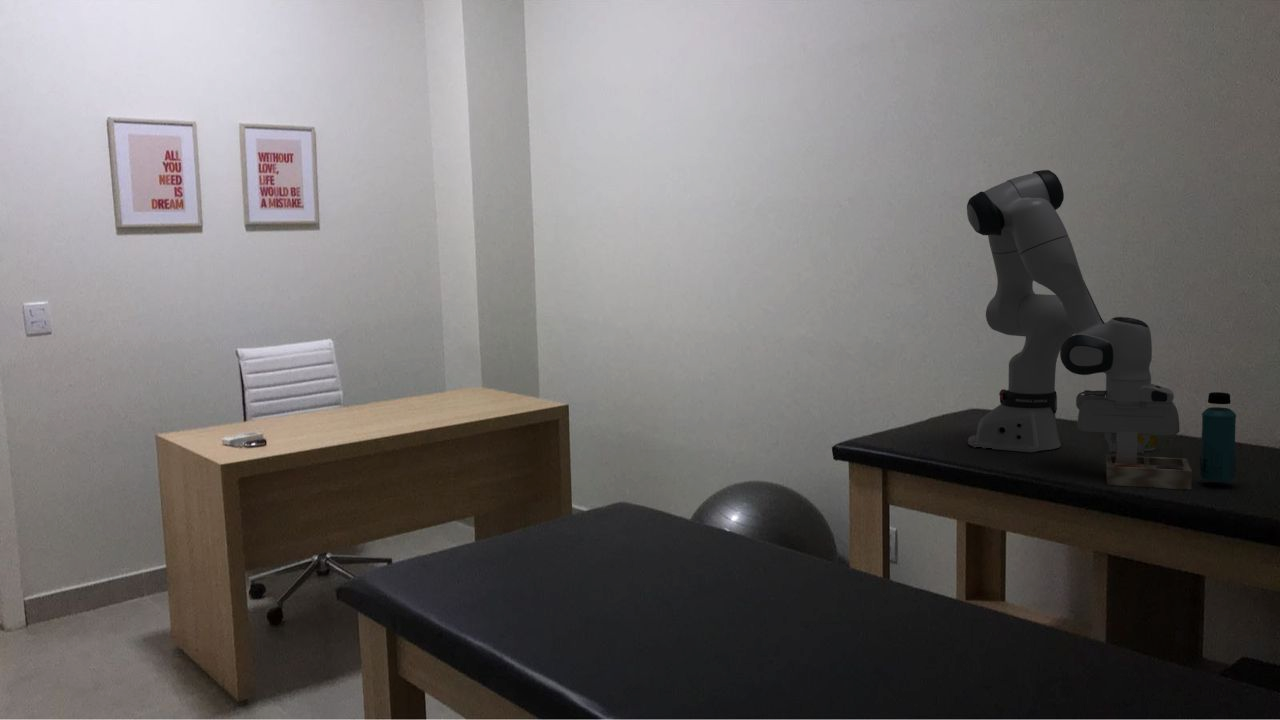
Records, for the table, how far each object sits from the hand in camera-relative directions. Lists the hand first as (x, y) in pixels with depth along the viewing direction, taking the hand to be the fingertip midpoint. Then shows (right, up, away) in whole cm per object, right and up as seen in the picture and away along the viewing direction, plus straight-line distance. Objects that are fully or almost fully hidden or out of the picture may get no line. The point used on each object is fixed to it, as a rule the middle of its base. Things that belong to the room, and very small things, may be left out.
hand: (1126, 453), depth 218 cm
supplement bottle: (+18, -2, +27) cm, 32 cm away
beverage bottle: (+15, -6, -8) cm, 18 cm away
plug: (0, -4, +1) cm, 4 cm away
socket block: (+3, -6, -2) cm, 7 cm away
